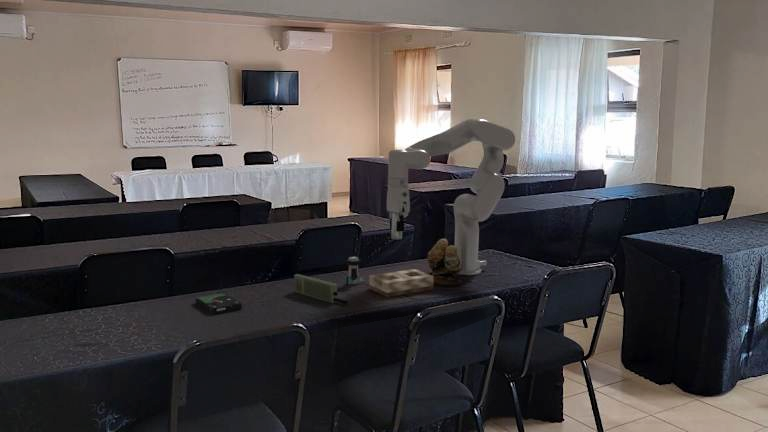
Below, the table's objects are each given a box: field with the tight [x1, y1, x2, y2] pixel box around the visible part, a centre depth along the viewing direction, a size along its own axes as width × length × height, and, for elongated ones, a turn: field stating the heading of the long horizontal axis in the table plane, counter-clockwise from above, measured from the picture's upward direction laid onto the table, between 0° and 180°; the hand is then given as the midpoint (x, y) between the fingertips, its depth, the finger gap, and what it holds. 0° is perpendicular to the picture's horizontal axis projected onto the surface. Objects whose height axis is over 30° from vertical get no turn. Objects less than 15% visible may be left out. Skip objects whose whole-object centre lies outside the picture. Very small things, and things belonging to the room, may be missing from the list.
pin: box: [390, 211, 403, 240], centre depth 254 cm, size 4×4×10 cm
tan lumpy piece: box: [427, 238, 462, 288], centre depth 253 cm, size 18×12×17 cm, turn 37°
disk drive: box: [195, 292, 243, 315], centre depth 219 cm, size 10×3×15 cm
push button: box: [345, 256, 364, 286], centre depth 249 cm, size 7×5×10 cm
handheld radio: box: [293, 273, 349, 305], centre depth 229 cm, size 7×3×25 cm
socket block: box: [368, 268, 434, 298], centre depth 243 cm, size 20×12×5 cm, turn 122°
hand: (396, 229), depth 254 cm, fingers closed on pin, 4 cm apart
